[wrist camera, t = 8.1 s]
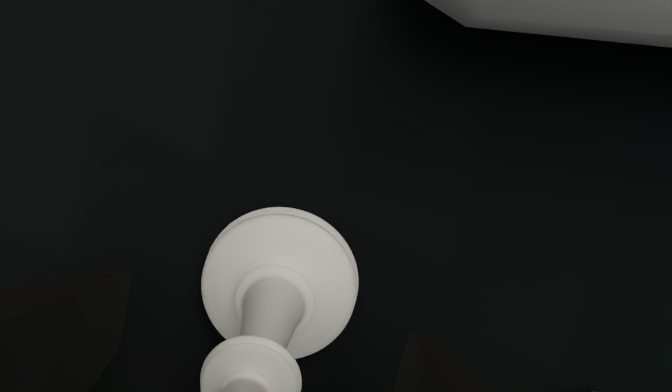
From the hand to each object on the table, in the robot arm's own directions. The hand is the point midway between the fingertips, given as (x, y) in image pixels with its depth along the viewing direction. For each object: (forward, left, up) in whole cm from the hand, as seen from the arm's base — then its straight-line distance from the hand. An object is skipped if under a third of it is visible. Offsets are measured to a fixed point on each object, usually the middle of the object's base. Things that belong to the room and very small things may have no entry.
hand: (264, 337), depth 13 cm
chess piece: (0, 0, -4) cm, 4 cm away
